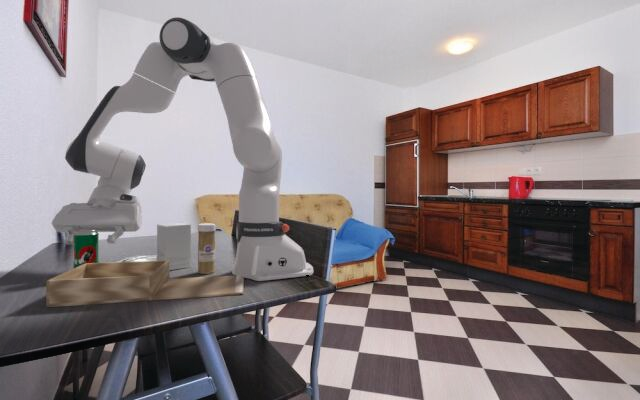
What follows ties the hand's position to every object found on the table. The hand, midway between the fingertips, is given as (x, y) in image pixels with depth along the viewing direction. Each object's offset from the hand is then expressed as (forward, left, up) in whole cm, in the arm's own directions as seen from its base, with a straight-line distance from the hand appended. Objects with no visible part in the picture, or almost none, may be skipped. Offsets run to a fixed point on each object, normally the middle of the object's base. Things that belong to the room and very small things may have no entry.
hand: (89, 242), depth 77 cm
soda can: (0, +2, -9) cm, 9 cm away
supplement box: (-19, -5, -9) cm, 22 cm away
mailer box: (-21, +16, -8) cm, 28 cm away
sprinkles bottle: (-29, +3, -9) cm, 30 cm away
